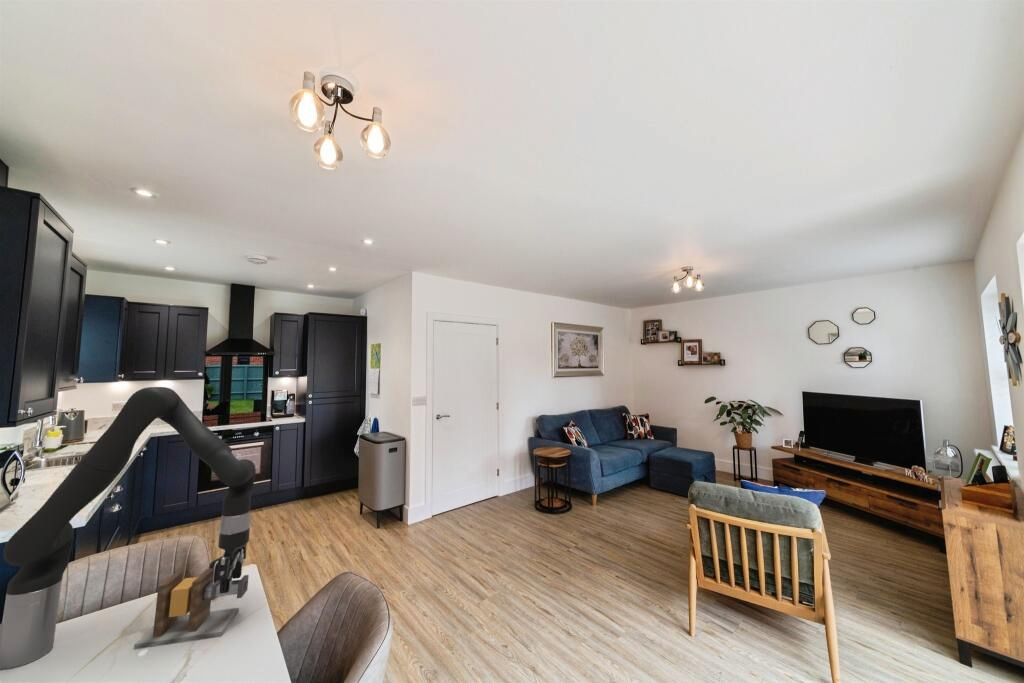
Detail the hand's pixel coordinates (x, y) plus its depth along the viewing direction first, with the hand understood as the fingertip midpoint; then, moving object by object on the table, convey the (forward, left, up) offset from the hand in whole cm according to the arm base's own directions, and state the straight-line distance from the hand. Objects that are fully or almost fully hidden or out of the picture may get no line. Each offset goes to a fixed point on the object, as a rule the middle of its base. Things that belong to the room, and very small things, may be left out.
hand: (230, 584), depth 113 cm
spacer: (-11, 0, -5) cm, 12 cm away
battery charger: (-10, +20, -11) cm, 25 cm away
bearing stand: (-9, 0, -11) cm, 14 cm away
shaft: (-7, 0, -3) cm, 7 cm away
